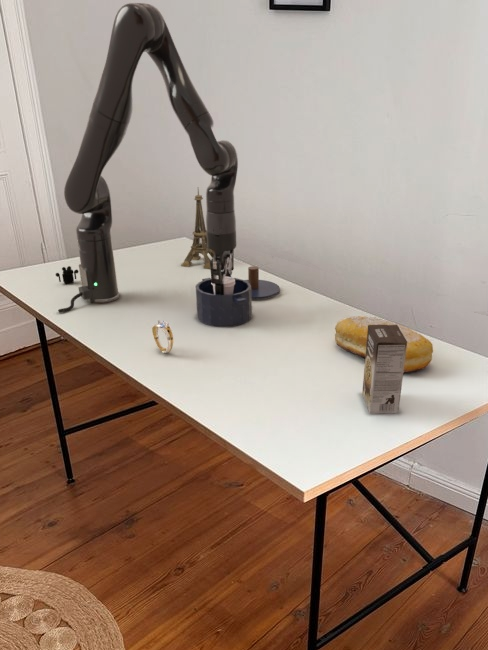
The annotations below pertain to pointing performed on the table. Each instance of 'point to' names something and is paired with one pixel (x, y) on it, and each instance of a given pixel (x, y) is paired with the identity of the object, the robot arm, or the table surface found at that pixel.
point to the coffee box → (384, 368)
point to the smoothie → (227, 285)
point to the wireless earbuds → (67, 275)
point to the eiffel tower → (199, 233)
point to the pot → (224, 304)
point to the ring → (165, 327)
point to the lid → (261, 285)
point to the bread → (355, 328)
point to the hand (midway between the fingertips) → (223, 293)
